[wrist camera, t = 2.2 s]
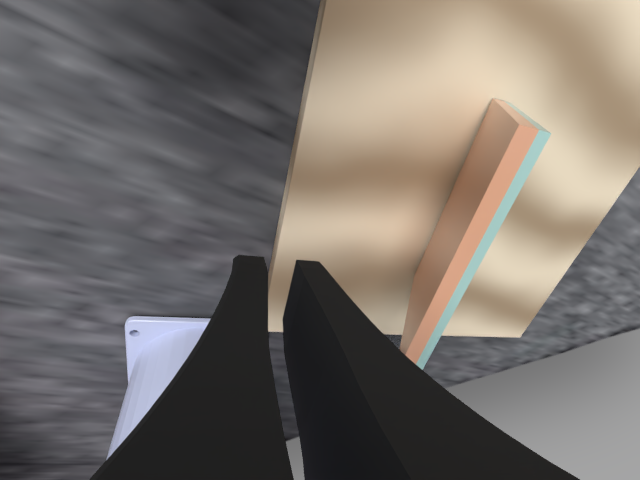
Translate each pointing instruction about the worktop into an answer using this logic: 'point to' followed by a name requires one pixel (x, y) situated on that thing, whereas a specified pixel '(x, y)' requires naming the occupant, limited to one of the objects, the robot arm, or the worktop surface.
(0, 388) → the worktop surface
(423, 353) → the tile
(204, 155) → the worktop surface
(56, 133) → the worktop surface
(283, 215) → the board
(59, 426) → the worktop surface
